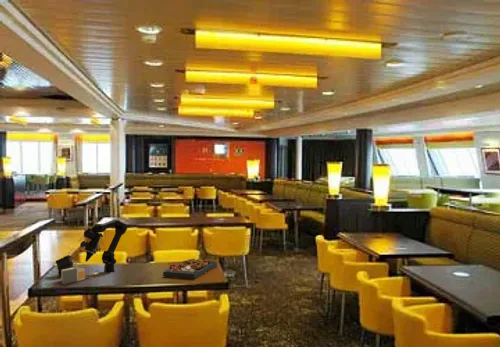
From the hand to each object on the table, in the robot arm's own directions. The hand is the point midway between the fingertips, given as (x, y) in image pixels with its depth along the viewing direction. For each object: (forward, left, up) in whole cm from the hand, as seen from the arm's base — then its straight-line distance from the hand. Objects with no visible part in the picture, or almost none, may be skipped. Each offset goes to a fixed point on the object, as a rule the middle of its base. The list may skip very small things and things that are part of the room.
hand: (86, 261), depth 359 cm
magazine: (+11, -15, -12) cm, 22 cm away
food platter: (-71, +27, -12) cm, 77 cm away
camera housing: (+10, +3, -11) cm, 15 cm away
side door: (+15, +11, -11) cm, 21 cm away
